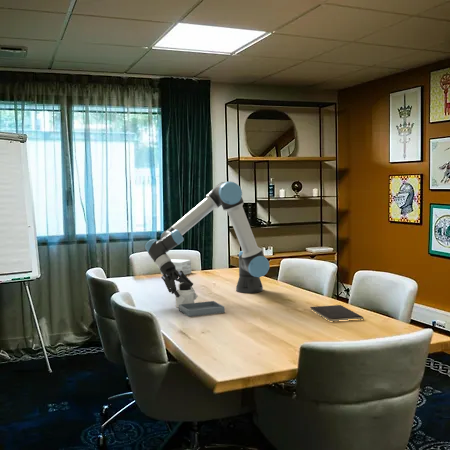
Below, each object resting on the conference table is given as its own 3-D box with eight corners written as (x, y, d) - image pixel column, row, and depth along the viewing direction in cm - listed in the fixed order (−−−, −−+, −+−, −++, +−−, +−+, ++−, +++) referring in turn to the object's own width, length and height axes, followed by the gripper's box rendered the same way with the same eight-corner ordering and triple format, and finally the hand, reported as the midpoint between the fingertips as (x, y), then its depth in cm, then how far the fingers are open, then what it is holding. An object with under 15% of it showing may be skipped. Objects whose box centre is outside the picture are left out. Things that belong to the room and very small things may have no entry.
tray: (213, 306, 260) (213, 300, 259) (224, 312, 247) (224, 306, 246) (179, 310, 253) (179, 304, 252) (188, 316, 240) (188, 310, 240)
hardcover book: (329, 323, 226) (329, 318, 226) (310, 311, 248) (310, 306, 248) (363, 321, 229) (363, 316, 229) (341, 309, 252) (341, 304, 251)
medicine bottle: (194, 305, 262) (194, 281, 261) (188, 308, 256) (188, 284, 255) (181, 304, 265) (180, 281, 264) (175, 307, 258) (175, 283, 257)
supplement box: (191, 273, 363) (191, 259, 363) (182, 276, 351) (181, 262, 351) (170, 271, 371) (170, 258, 370) (160, 274, 359) (160, 261, 358)
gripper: (176, 267, 277) (199, 300, 268) (146, 272, 260) (171, 308, 251) (183, 258, 273) (207, 291, 265) (154, 263, 256) (179, 299, 248)
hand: (189, 299), depth 258 cm, fingers closed on medicine bottle, 9 cm apart
